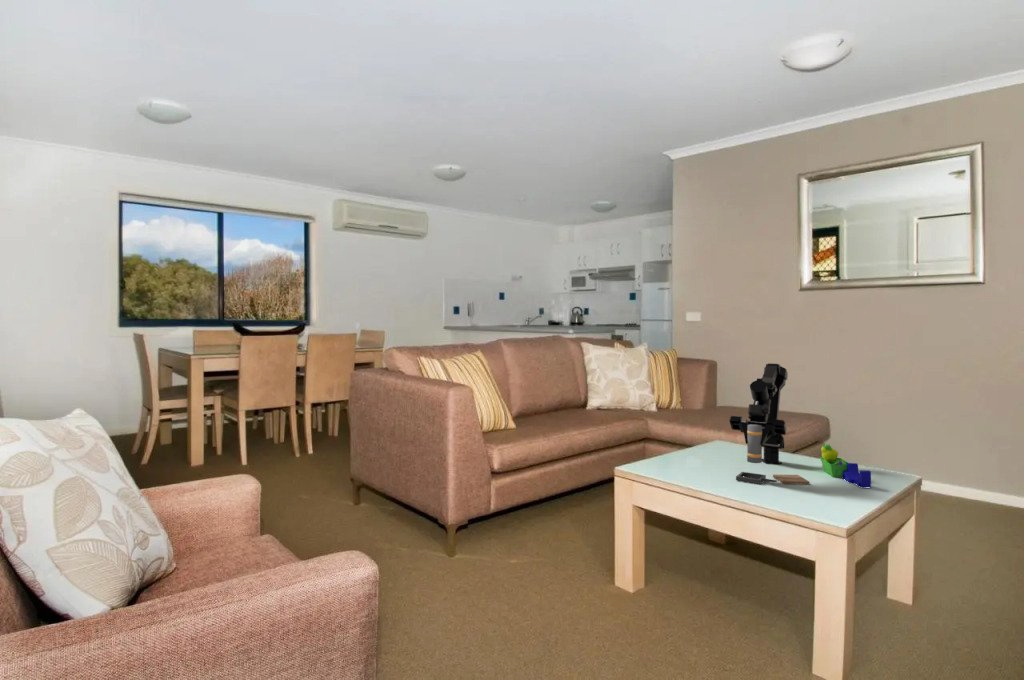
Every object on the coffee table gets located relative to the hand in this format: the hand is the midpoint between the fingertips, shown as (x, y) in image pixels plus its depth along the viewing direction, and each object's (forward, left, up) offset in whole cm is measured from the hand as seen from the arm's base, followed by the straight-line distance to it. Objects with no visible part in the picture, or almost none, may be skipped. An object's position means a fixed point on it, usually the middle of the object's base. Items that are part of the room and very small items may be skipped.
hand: (753, 444), depth 207 cm
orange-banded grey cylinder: (-1, +1, -7) cm, 7 cm away
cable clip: (+1, +35, -14) cm, 38 cm away
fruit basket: (-11, +34, -14) cm, 38 cm away
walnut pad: (-1, +14, -13) cm, 19 cm away
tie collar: (0, +1, -13) cm, 14 cm away
